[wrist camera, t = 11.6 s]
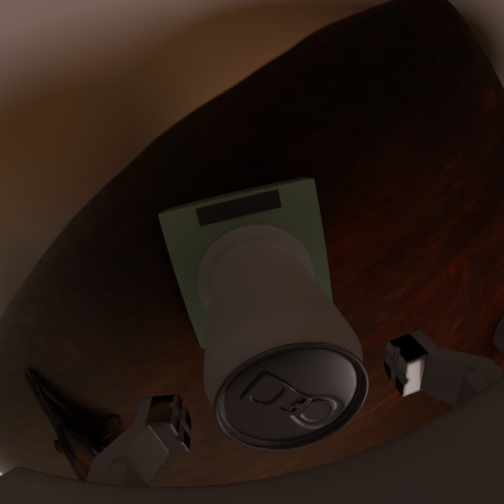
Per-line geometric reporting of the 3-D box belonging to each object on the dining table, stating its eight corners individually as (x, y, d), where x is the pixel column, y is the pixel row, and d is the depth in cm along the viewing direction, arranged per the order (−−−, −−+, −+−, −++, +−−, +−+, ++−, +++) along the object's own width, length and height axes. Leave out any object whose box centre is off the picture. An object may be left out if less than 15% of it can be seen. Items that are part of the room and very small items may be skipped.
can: (267, 337, 22) (302, 468, 10) (193, 295, 20) (168, 426, 9) (320, 270, 21) (409, 371, 9) (246, 219, 19) (278, 293, 8)
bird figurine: (13, 388, 24) (40, 538, 11) (34, 352, 23) (68, 538, 10) (94, 410, 34) (136, 534, 20) (127, 380, 33) (182, 524, 19)
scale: (164, 209, 22) (155, 215, 19) (304, 176, 22) (317, 178, 19) (202, 333, 25) (200, 353, 22) (325, 303, 25) (337, 320, 22)
